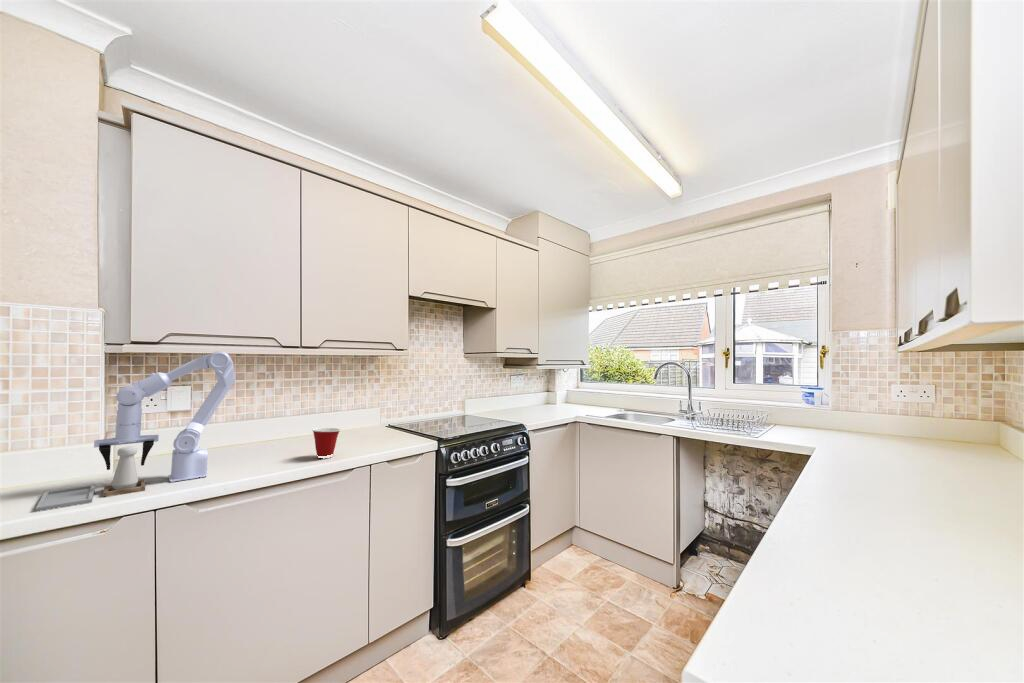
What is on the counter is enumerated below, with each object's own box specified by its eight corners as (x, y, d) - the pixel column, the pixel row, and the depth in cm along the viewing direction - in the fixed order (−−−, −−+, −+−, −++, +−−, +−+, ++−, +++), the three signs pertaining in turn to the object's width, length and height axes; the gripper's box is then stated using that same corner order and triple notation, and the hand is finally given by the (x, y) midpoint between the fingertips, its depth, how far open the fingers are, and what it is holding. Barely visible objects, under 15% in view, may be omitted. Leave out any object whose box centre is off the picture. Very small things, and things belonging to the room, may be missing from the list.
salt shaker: (120, 494, 115) (123, 449, 116) (105, 492, 117) (108, 448, 117) (142, 487, 121) (145, 445, 122) (128, 486, 122) (131, 444, 123)
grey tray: (94, 487, 120) (95, 484, 120) (91, 502, 109) (92, 498, 109) (44, 495, 113) (44, 491, 113) (35, 511, 102) (35, 507, 102)
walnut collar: (143, 483, 125) (144, 479, 125) (144, 490, 119) (145, 486, 119) (104, 489, 119) (104, 485, 119) (103, 497, 113) (103, 493, 113)
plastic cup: (345, 455, 166) (346, 427, 167) (327, 461, 156) (328, 431, 156) (323, 453, 169) (324, 425, 169) (304, 459, 158) (306, 429, 159)
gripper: (158, 420, 132) (156, 460, 132) (96, 424, 122) (93, 468, 121) (159, 423, 127) (157, 465, 126) (94, 427, 117) (91, 473, 116)
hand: (125, 467), depth 124 cm, fingers open, 7 cm apart
